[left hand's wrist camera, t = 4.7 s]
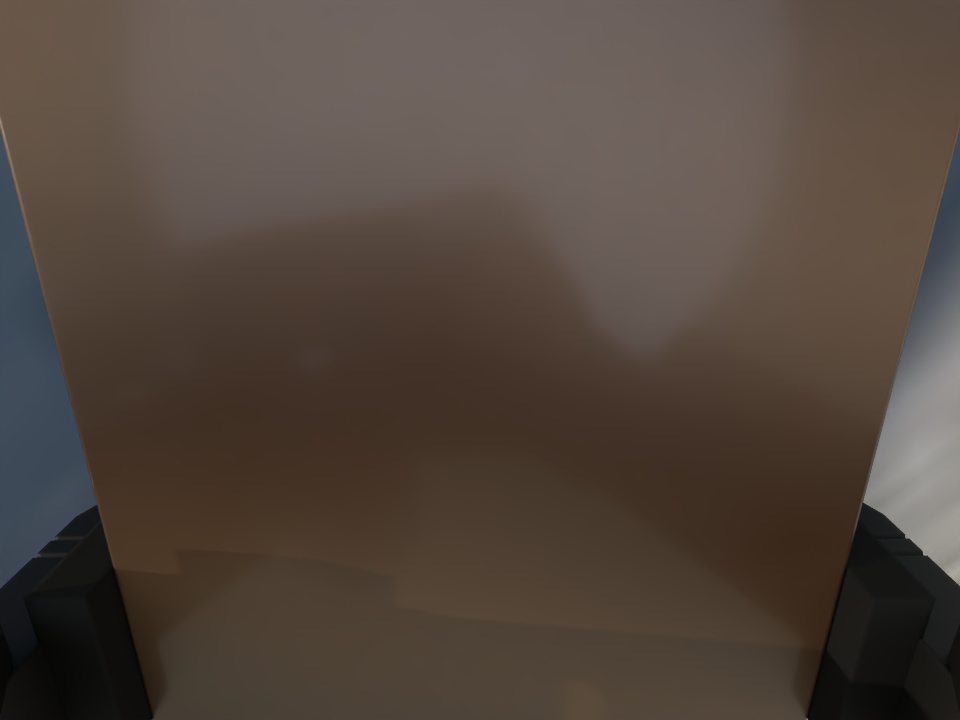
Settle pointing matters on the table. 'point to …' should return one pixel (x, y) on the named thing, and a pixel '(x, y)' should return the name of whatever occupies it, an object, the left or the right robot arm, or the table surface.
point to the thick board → (479, 335)
